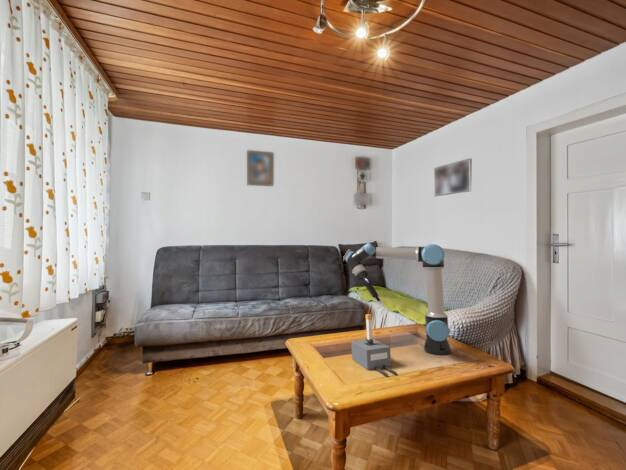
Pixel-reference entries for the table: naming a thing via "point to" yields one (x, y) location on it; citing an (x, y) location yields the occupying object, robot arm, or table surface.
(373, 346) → the grey power plug
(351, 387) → the table surface
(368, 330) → the breaker lever
